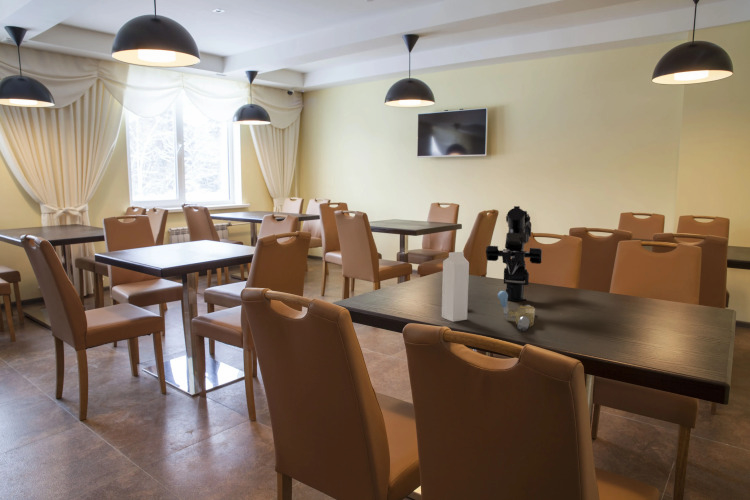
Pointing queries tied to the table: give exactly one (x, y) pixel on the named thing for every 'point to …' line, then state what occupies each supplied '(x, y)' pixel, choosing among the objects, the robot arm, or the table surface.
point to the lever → (503, 301)
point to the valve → (524, 316)
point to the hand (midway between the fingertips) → (511, 273)
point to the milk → (455, 287)
